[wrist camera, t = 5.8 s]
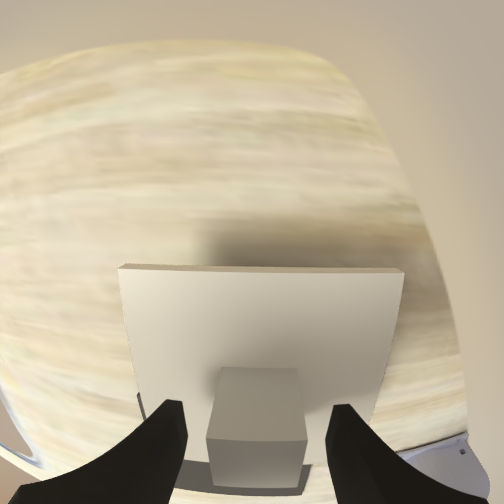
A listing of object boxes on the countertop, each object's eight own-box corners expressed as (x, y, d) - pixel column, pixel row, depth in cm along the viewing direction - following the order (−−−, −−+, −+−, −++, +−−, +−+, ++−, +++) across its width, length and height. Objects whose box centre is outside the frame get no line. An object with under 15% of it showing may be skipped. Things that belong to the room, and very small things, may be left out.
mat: (323, 403, 18) (324, 406, 17) (301, 492, 20) (301, 495, 20) (138, 392, 18) (136, 395, 18) (167, 483, 21) (166, 486, 20)
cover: (396, 267, 11) (463, 313, 6) (352, 449, 13) (369, 513, 8) (126, 263, 11) (55, 306, 6) (161, 445, 13) (139, 507, 9)
